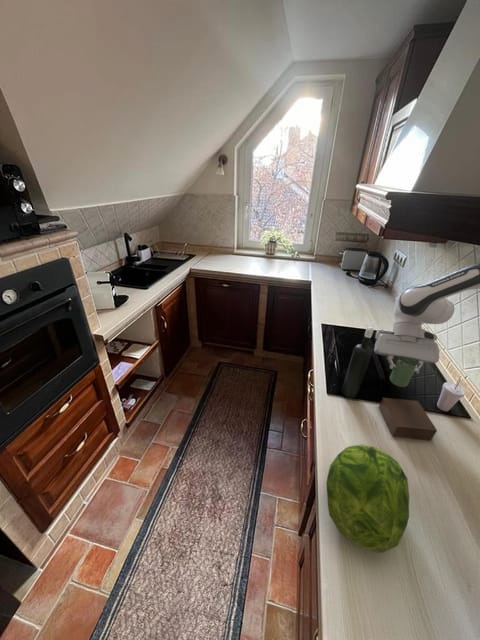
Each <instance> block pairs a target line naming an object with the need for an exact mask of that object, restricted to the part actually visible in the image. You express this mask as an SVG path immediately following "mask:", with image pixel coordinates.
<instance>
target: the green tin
mask: <svg viewBox="0 0 480 640" xmlns="http://www.w3.org/2000/svg"><path fill="white" fill-rule="evenodd" d="M395 364H396V369H392V371H391V373H390V375H389V381H390V382H391V383H392V384H393V385H395V386H396V387H400V388H405V387H407V386H408V385H409V383H410V381H411V379H412V378H413V375H414V374H415V373H414V371H415V369H416V367H417V366H418V364H419V363H418V361H417V360H416V359H415V358H410V357H404V356H398V358H396V362H395Z"/></svg>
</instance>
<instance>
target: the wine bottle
mask: <svg viewBox="0 0 480 640" xmlns="http://www.w3.org/2000/svg"><path fill="white" fill-rule="evenodd" d="M374 330H375V328H374V327H373V326H368V325H367V326H366V329H365V332H364V336H363V339H362V343H359V344H357V345H355V346H354V347H353V350H352V354H351V358H350V361H349V363H348V367H347V371H346V373H345V377H344V380H343V383H342V386H341V390H340V391H341V394H342V395H343V396H344V397H345V398H347V399H355V398H357V396H358V394H359V391H360V388H361V386H362V383H363V380H364V377H365V375H366V371H367V369H368V366H369V363H370V360H371V356H372V355H373V349H372V348H371V347H370V346H369V344H370V341H371V338H372V337H373V333H374Z"/></svg>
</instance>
